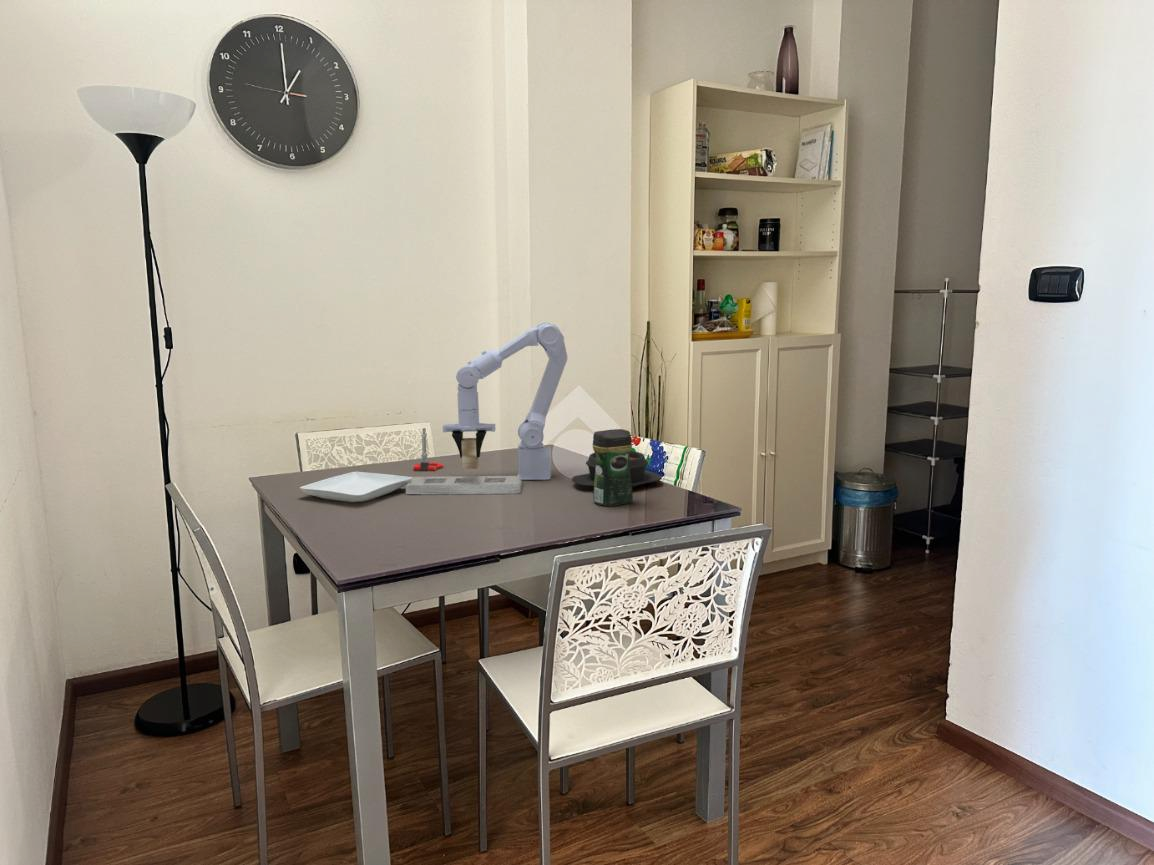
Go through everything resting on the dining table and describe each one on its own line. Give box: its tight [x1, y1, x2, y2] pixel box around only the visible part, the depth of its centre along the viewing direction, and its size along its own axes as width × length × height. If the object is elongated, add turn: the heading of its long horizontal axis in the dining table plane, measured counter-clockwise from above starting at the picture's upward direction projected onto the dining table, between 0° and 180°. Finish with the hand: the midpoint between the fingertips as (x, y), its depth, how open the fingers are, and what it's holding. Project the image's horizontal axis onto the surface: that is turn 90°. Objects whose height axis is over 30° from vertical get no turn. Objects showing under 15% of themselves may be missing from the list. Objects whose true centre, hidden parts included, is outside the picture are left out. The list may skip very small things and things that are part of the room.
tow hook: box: [413, 427, 444, 472], centre depth 248 cm, size 8×13×9 cm
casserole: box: [571, 450, 663, 489], centre depth 224 cm, size 25×19×8 cm
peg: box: [461, 437, 480, 470], centre depth 231 cm, size 4×4×8 cm
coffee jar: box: [592, 428, 634, 507], centre depth 205 cm, size 10×8×19 cm
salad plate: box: [299, 471, 413, 503], centre depth 217 cm, size 21×21×3 cm
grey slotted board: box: [405, 475, 523, 495], centre depth 221 cm, size 30×10×2 cm, turn 90°
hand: (470, 456), depth 231 cm, fingers closed on peg, 4 cm apart
